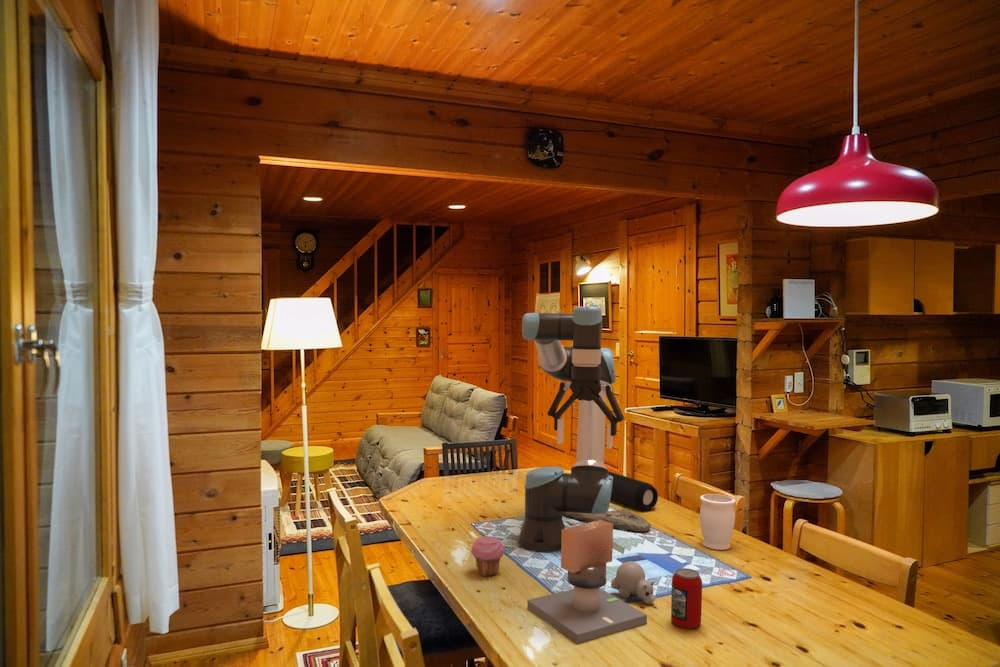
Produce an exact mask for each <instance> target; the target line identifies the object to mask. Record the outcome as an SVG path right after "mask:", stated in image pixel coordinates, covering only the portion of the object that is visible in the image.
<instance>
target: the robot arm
mask: <svg viewBox="0 0 1000 667" xmlns="http://www.w3.org/2000/svg"><path fill="white" fill-rule="evenodd" d="M602 313H603V312H602V308H601V307H599V306H575V307H574V308H573V312H572V313H554V312H551V313H550V312H548V313H547V312H527V313H524V315H523V316H522V319H521V320H522V322H521V324H522V325H521V332H522V334H521V335H522V338H523V339H524V340H529V341H533V342H534V345H535V348H536V350H537V363H538V365H539V368H541V370H542V371H543V372H544V373H546V374H547V375H549V376H550V377H552V378H554V379H556V380H559V381H561V382H560V383H559V388H558V392H557V394H556V395H555V397H554V399H553V401H552V403H551V406H550V407H549V409H548V411H547V416H549V417H552V418H553V419H554V421H553V425H554V426H553V429H554V431H557V432H556V434H557V435H556V436H557V438H556V441H557V442H556V444H558V445H560V444H562V443H563V442H564V421H565V420H564V418H563V417H562V416H563V414H565V413H566V412H567V410H568V409H569V408H570V407H571V406H572V405H573V403H575V401H576V400H578V414H577V415H578V417H577V418H578V419H577V435H576V436H577V437H576V438H577V440H576V459H575V460H576V461H575V463H574V464H573V465H572V466H571V467H570V473H568V472H565V470H564V469H563V468H562V467H560V466H559V467H558V466H543V467H537V468H534V469H531V470H529V471H528V472H527V474H526V475H525V483H524V492H525V493H524V496H525V497H524V519H523V522H522V524H521V528H520V532H519V534H518V544H519V546H520V547H522V548H524V549H525V550H529V551H535V552H543V553H544V552H545V553H547V552H557V551H558V552H559V551H561V537H562V529H565V528H566V527H565V524H564V521H563V515H562V512H572V513H587V514H592V515H593V514H605V513H606V512H607V511H609V508H610V502H611V499H610V498H611V492H612V484H613V476H611V475H609V472H610V471H609V468H608V467H607V466H606V465H605V444H606V449H607V450H610V449H612V448H613V445H614V444H613V443H614V441H613V440H614V437H615V436H616V435H617V433H618V432H617V430H618V429H617V428H618V427H617V424H618V423H620V422H622V421H624V420H625V416H624V414H623V412H622V410H621V407H620V406H619V403H618V400H617V399H616V396H615V394H614V389H613V384H615V383H616V372H615V370H616V369H615V361H614V360H615V358H614V353H613V351H612V349H610V348H608V347H602V332H603V322H602V321H603V316H602ZM561 341H568V342H569V341H572V346H563V345H562V343H561ZM569 382H570V383H569ZM569 389H570V390H571V392H572V394H571V395H570V396H569V397H568V399H567V400H566V401H565V402H564V404H562V406H561V407H559V406H560V404H561V401H562V400H563V398H564V396H565V394H566V391H568V390H569ZM606 399H607V400H608V402H609V404H610V406H611V409H612V410H611V409H610V408H609V406H608V405H607V404H606V403H607V400H606ZM558 407H559V409H558ZM557 409H558V410H557ZM612 411H613V412H612ZM606 419H608V421H609V422H608V423H607V428H606ZM606 429H607V430H606ZM606 431H607V432H606ZM605 433H607V434H605ZM605 435H606V436H605ZM605 438H606V440H605ZM605 441H606V443H605Z"/></svg>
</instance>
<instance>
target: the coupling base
mask: <svg viewBox="0 0 1000 667" xmlns="http://www.w3.org/2000/svg"><path fill="white" fill-rule="evenodd" d="M527 609H528V610H530V611H531V612H532V613H533V614H535V615H536V616H538V617H539V618H541V619H542V620H543V621H545V622H546V623H547V624H549V625H550V626H552V627H553V628H555V629H556V630H557V631H558V632H560V633H562V634H563V635H564V636H566V637H568V639H571V641H573V642H574V643H576V644H582V643H585V642H589V641H592V640H595V639H599V638H601V637H605V636H609V635H612V634H616V633H619V632H622V631H626V630H629V629H633V628H635V627H639V626H643V625H646V624H648V615H647V614H646V613H645V612H643V611H641V610H639V609H637V608H635V607H634V606H632V605H630V604H629V603H627V602H625V601H623V600H622V599H620V598H618V597H617V596H615V595H612V594H611V593H609V592H608V591H606V590H604V589H602V587H600V588H595V589H584V588H579V587H575V586H573V588H572V589H568V590H563V591H560V592H559V591H558V592H555V593H551V594H546V595H542V596H538V597H533V598H530V599H527Z"/></svg>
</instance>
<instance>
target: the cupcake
mask: <svg viewBox="0 0 1000 667" xmlns="http://www.w3.org/2000/svg"><path fill="white" fill-rule="evenodd" d="M504 554H505V548H504V544H503V542H502V541H501V540H499V539H498V538H496V537H494V536H485V535H484V536H481V537H477V538H476V540H475V541H474V543H473V545H472V547H471V555H472V556H473V557H474V559H475V561H476V568H477V570H478V573H479V574H480V575H481V576H483V577H488V576H493V575H497V574H498V573H499V571H500V569H499V568H500V562H501V558H502V557H503V556H504Z"/></svg>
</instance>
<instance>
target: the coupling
mask: <svg viewBox="0 0 1000 667" xmlns="http://www.w3.org/2000/svg"><path fill="white" fill-rule="evenodd" d="M613 538H614V528H613V524H612V523H609V522H606V521H603V520H598V521H594V522H586V523H582V524H578V525H574V526H570V527H565V529H562V537H561V550H560V551H561V552H560V568H561V569H563V570H565V571H567V582H568V584H569V585H570V586H571V585H572V586H573V587H574V586H575V587H579V588H584V589H595V588H603V587H604V586H606V582H607V564H608V563H611V562H613V545H614V544H613V543H614V539H613Z"/></svg>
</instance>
